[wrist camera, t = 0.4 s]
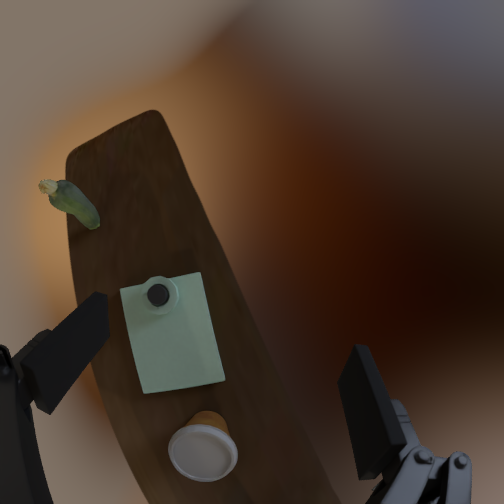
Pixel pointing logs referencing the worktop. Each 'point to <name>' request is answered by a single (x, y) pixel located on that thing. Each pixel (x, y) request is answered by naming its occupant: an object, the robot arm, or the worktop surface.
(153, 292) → the button
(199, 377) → the scale
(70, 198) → the vegetable
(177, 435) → the disposable coffee cup
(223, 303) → the worktop surface
